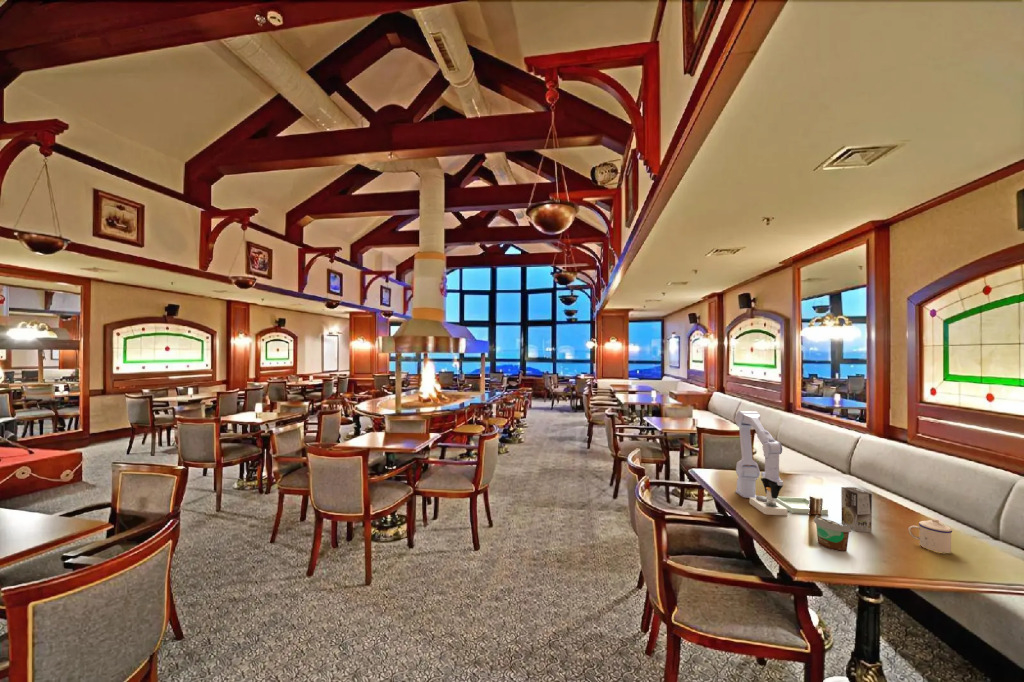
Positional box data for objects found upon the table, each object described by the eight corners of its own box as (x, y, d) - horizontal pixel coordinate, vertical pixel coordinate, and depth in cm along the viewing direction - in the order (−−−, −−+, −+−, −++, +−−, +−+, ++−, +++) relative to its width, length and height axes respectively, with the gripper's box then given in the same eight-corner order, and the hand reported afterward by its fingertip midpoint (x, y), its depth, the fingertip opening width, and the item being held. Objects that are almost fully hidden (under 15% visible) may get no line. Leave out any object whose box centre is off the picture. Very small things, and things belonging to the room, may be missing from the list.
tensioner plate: (749, 503, 206) (749, 495, 206) (770, 504, 205) (770, 496, 205) (765, 514, 192) (765, 505, 192) (787, 515, 191) (787, 506, 191)
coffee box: (872, 532, 175) (872, 494, 176) (857, 531, 175) (857, 493, 176) (855, 523, 184) (855, 486, 185) (840, 522, 184) (840, 486, 185)
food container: (806, 541, 165) (806, 515, 165) (816, 538, 167) (816, 513, 167) (840, 555, 153) (840, 528, 154) (851, 553, 156) (851, 526, 156)
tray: (772, 501, 210) (772, 496, 210) (805, 502, 209) (805, 497, 209) (792, 513, 194) (792, 508, 194) (827, 515, 193) (827, 509, 193)
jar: (763, 503, 198) (763, 485, 198) (773, 504, 198) (773, 486, 198) (769, 507, 193) (769, 488, 193) (779, 507, 193) (779, 489, 193)
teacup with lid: (950, 549, 161) (950, 519, 162) (953, 557, 155) (953, 526, 155) (908, 539, 169) (908, 510, 170) (908, 546, 163) (909, 516, 163)
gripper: (755, 462, 203) (754, 490, 203) (771, 471, 189) (771, 501, 189) (769, 463, 203) (769, 491, 203) (787, 472, 188) (787, 502, 188)
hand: (771, 496), depth 196 cm, fingers closed on jar, 4 cm apart
